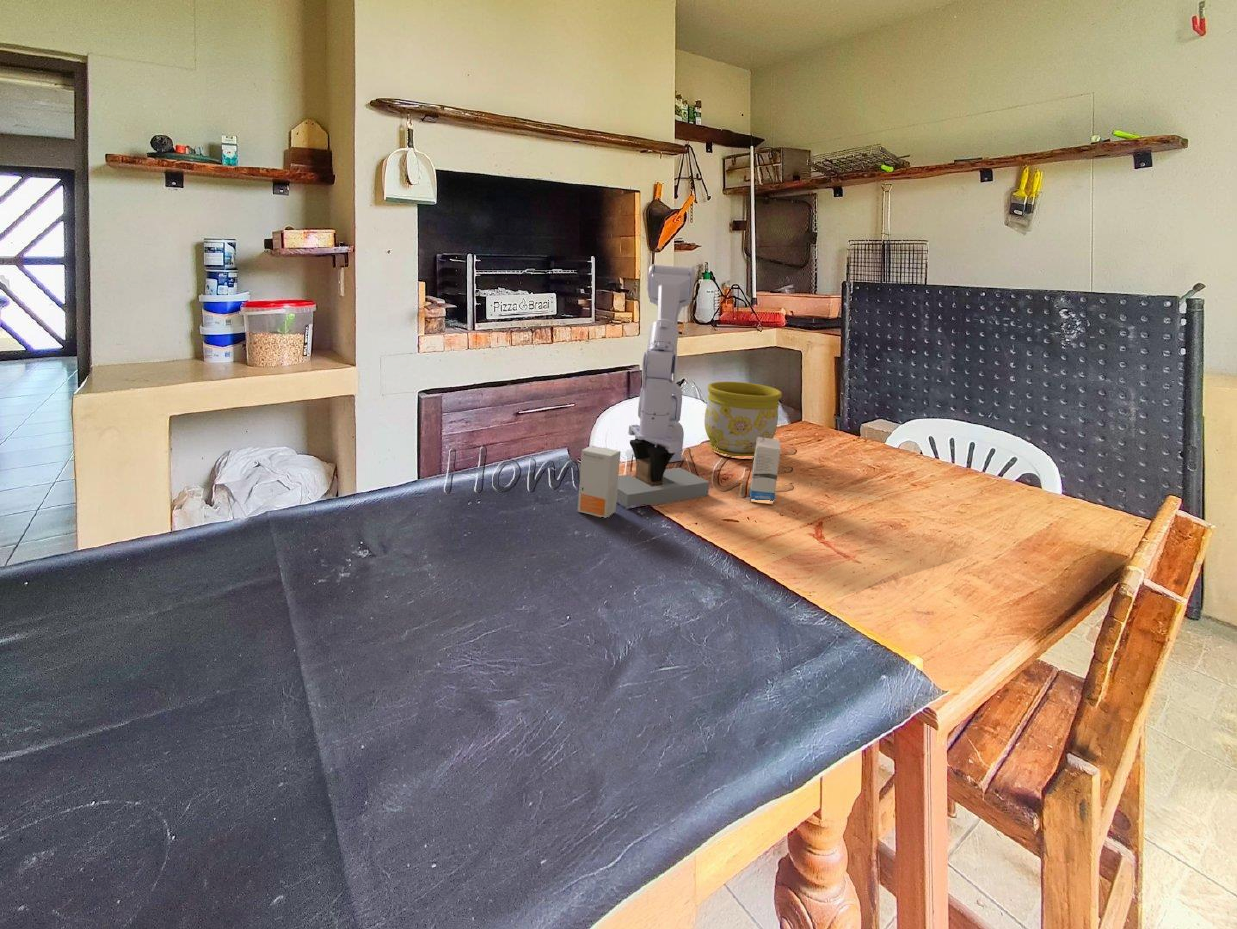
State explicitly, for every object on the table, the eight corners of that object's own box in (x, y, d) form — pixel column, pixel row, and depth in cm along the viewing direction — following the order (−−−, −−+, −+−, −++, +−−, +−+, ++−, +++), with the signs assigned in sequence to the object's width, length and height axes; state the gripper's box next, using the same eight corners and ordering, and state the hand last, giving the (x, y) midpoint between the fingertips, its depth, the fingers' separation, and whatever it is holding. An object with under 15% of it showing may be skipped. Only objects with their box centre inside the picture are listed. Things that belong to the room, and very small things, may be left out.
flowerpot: (744, 441, 184) (752, 380, 179) (787, 460, 169) (797, 395, 164) (687, 445, 176) (693, 381, 171) (727, 466, 161) (736, 397, 156)
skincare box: (576, 512, 125) (580, 449, 122) (587, 505, 129) (591, 444, 126) (606, 519, 123) (611, 456, 120) (616, 512, 127) (621, 450, 123)
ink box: (773, 506, 137) (782, 449, 133) (748, 502, 137) (756, 446, 134) (772, 492, 145) (780, 438, 141) (749, 489, 145) (756, 435, 142)
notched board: (677, 480, 147) (679, 467, 146) (708, 495, 139) (709, 481, 139) (598, 492, 136) (599, 478, 136) (626, 509, 129) (628, 494, 128)
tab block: (650, 480, 142) (652, 457, 140) (662, 486, 139) (664, 462, 137) (634, 482, 140) (636, 459, 138) (646, 489, 136) (648, 465, 135)
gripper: (618, 405, 138) (613, 469, 142) (661, 422, 127) (654, 491, 131) (646, 403, 142) (641, 465, 146) (690, 419, 131) (683, 486, 135)
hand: (649, 477), depth 139 cm, fingers closed on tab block, 4 cm apart
